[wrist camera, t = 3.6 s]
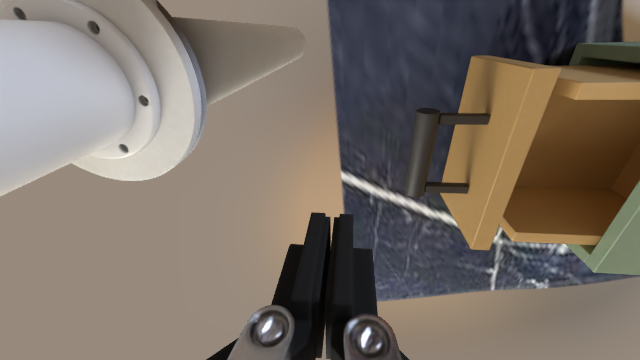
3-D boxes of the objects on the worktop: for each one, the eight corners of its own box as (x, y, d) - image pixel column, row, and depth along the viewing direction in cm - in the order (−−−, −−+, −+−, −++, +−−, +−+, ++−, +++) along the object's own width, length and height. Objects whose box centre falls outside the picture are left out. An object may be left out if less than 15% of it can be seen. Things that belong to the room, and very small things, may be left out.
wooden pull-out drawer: (391, 190, 24) (405, 246, 18) (408, 56, 19) (438, 69, 13) (600, 197, 23) (696, 261, 16) (687, 51, 17) (885, 63, 11)
